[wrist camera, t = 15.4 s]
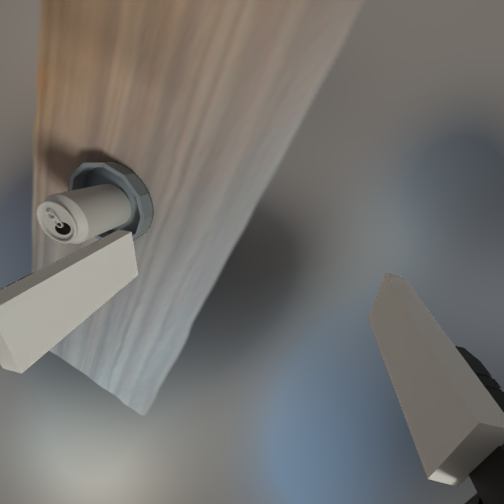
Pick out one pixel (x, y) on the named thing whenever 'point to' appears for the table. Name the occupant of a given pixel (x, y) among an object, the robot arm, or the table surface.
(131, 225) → the dish
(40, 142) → the table surface
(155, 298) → the table surface
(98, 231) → the can
